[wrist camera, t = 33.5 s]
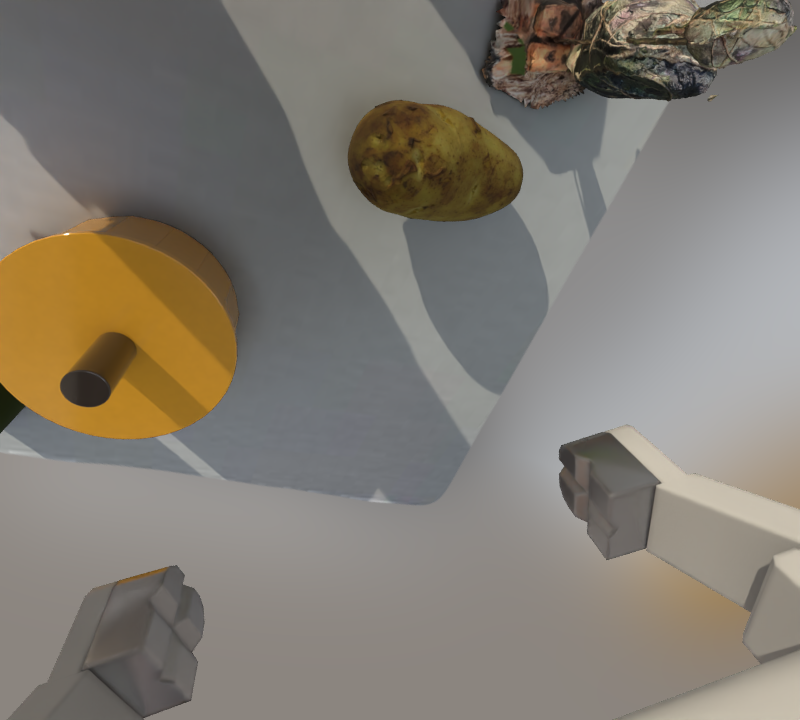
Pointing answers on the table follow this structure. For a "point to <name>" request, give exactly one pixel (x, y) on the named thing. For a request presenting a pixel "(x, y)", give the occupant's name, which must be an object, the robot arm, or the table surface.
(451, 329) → the table surface
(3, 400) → the avocado
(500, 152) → the potato
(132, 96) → the table surface
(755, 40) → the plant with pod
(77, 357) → the lid
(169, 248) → the pot
